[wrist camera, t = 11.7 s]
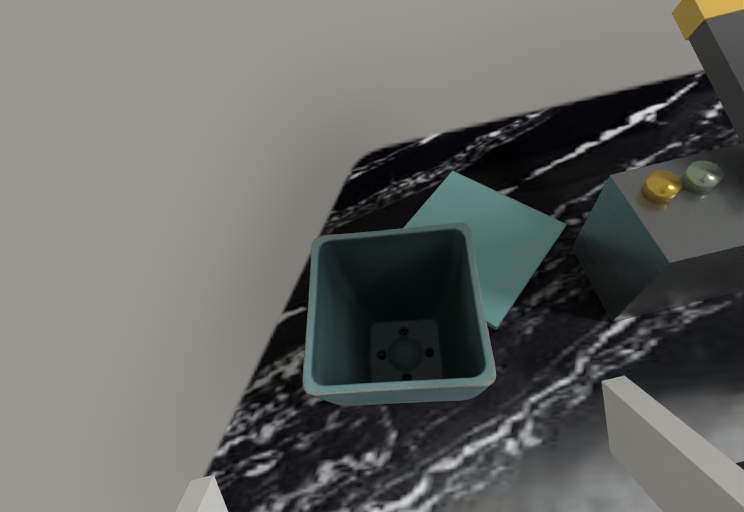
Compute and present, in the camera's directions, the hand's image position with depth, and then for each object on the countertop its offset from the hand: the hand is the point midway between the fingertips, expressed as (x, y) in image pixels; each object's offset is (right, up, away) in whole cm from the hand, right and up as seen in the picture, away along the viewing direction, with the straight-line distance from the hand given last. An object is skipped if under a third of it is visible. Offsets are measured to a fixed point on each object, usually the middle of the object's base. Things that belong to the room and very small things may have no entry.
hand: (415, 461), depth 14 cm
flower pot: (+1, 0, +15) cm, 15 cm away
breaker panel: (+19, +6, +15) cm, 25 cm away
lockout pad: (+6, +8, +18) cm, 21 cm away
